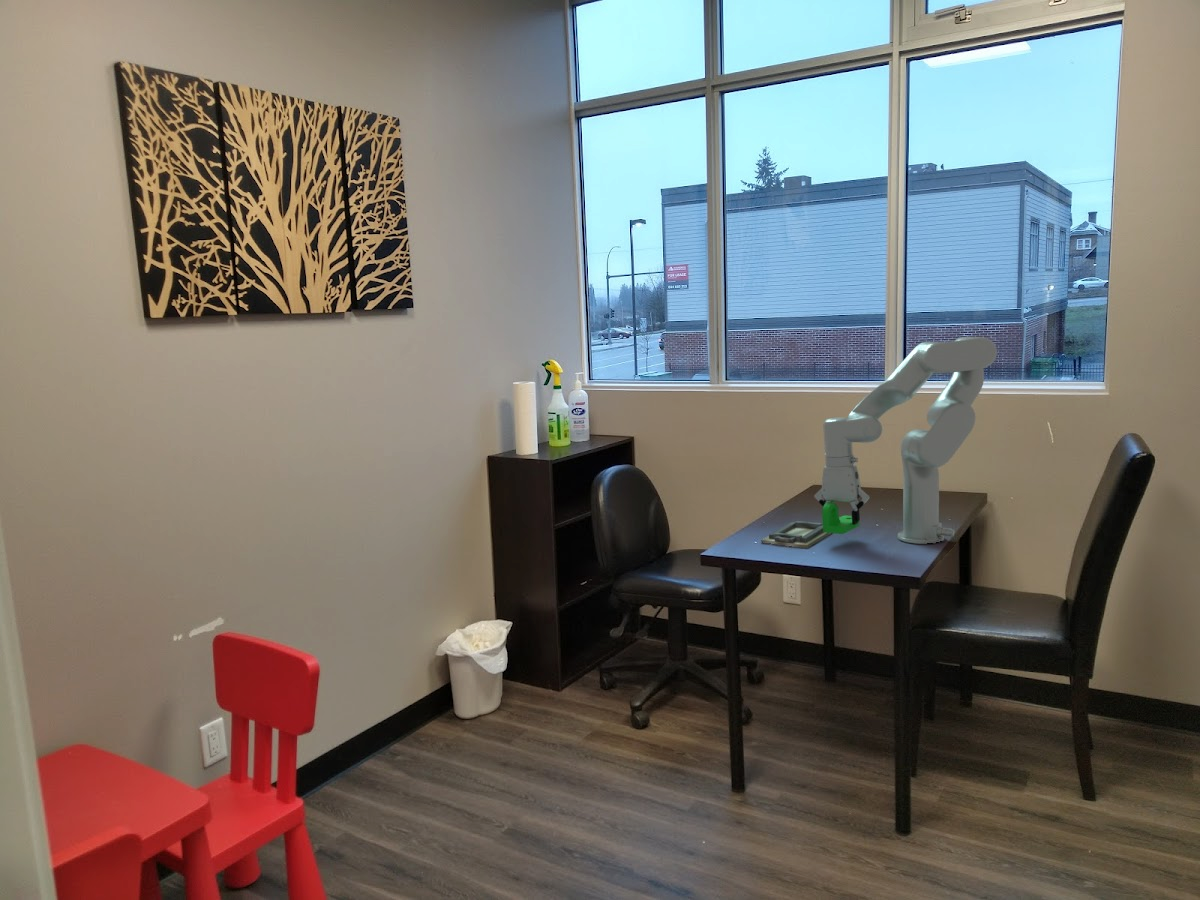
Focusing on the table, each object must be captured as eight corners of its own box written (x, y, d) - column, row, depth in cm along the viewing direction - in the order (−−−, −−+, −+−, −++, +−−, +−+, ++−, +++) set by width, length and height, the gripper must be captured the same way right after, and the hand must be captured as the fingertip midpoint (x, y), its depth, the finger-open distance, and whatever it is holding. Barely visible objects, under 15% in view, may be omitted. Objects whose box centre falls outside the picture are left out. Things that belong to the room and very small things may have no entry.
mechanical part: (842, 534, 240) (840, 506, 239) (823, 532, 244) (821, 504, 243) (863, 523, 248) (861, 496, 247) (844, 521, 252) (842, 495, 251)
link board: (835, 531, 261) (834, 522, 260) (806, 548, 243) (806, 539, 243) (791, 526, 269) (791, 518, 268) (761, 543, 251) (761, 534, 251)
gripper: (874, 459, 241) (877, 521, 244) (815, 458, 251) (818, 518, 254) (865, 464, 235) (868, 527, 238) (805, 463, 245) (809, 524, 248)
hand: (842, 522), depth 246 cm, fingers closed on mechanical part, 6 cm apart
